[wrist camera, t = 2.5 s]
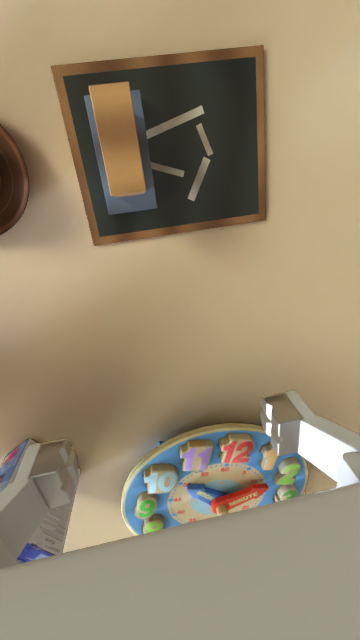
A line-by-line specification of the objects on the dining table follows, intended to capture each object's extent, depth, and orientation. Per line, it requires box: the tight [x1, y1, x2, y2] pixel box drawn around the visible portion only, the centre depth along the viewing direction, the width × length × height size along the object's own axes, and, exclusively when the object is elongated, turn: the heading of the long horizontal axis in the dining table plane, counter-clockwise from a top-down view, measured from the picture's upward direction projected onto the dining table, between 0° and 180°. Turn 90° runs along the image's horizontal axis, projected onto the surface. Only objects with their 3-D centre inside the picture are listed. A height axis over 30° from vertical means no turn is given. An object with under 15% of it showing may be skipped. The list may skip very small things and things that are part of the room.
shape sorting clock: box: [121, 423, 308, 536], centre depth 47 cm, size 31×30×6 cm
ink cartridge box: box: [0, 439, 81, 564], centre depth 36 cm, size 10×6×14 cm, turn 41°
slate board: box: [51, 45, 266, 246], centre depth 30 cm, size 20×16×1 cm
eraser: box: [84, 82, 157, 215], centre depth 25 cm, size 10×5×9 cm, turn 7°
